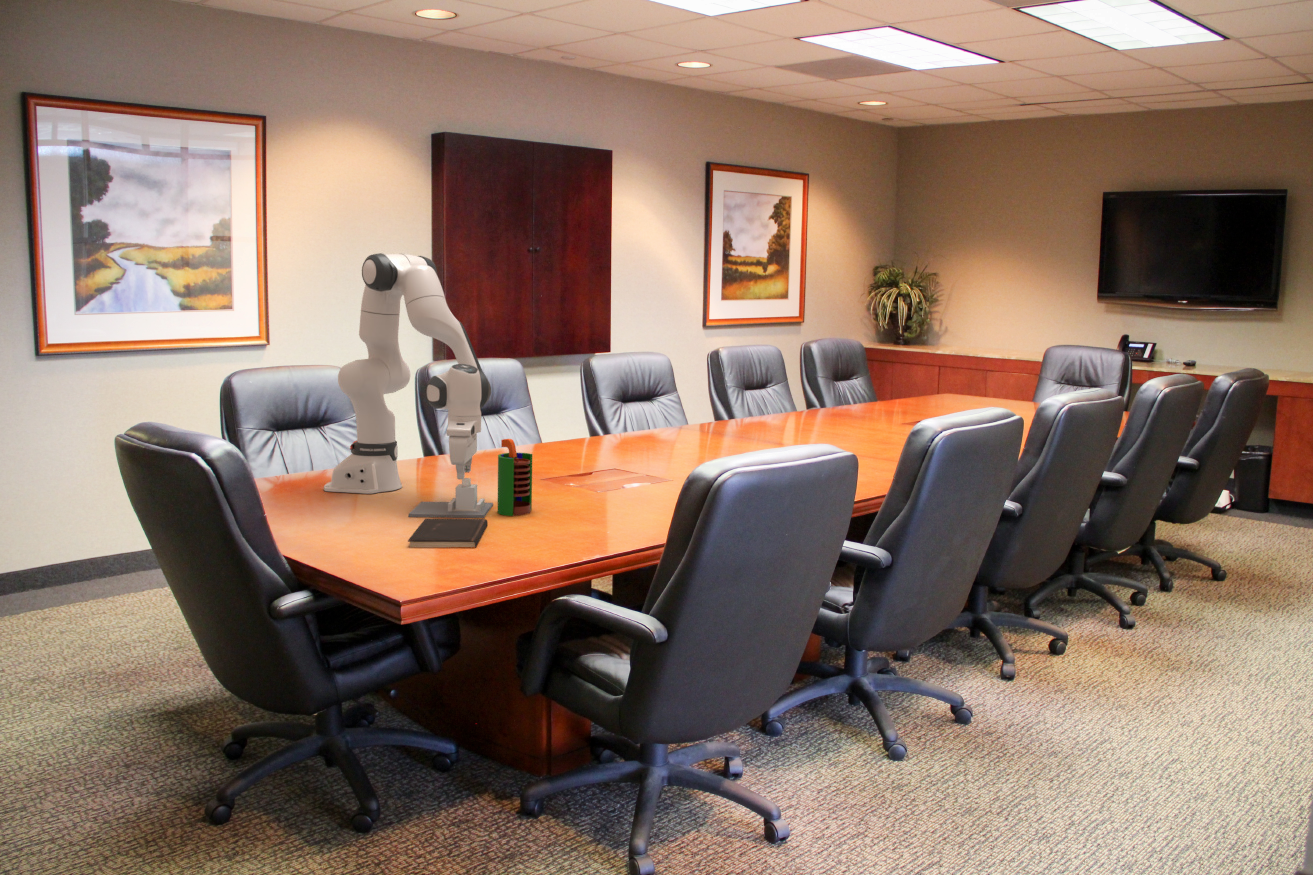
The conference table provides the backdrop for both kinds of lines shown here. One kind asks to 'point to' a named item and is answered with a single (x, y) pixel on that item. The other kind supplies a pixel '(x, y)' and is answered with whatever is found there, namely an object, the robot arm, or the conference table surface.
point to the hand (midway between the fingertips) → (464, 475)
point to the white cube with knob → (466, 495)
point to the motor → (514, 481)
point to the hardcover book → (448, 533)
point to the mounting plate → (450, 510)
